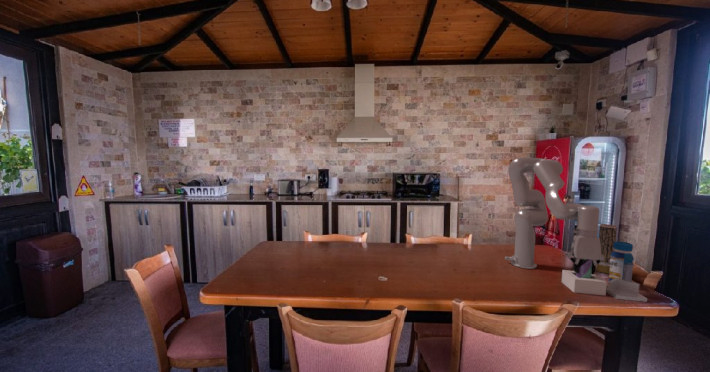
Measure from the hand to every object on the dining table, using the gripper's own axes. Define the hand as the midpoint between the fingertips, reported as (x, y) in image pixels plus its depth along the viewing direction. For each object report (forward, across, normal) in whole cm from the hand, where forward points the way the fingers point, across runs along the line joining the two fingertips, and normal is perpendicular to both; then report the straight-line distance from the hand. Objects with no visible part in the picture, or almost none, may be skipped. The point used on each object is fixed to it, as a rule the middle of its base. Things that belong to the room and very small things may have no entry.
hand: (583, 272), depth 135 cm
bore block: (+7, 0, 0) cm, 7 cm away
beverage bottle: (+8, +20, +10) cm, 24 cm away
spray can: (+8, 0, 0) cm, 8 cm away
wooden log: (+8, +23, +28) cm, 37 cm away
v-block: (+7, +14, -4) cm, 16 cm away
